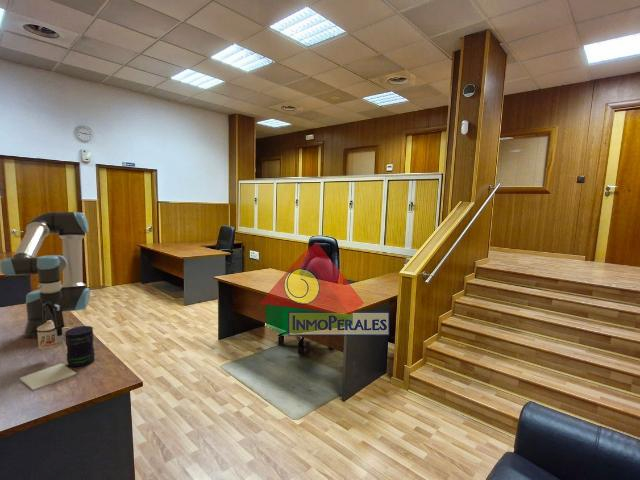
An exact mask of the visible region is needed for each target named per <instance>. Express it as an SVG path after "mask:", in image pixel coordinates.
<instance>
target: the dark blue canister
mask: <svg viewBox="0 0 640 480" xmlns="http://www.w3.org/2000/svg"><path fill="white" fill-rule="evenodd" d="M94 335H95V334H94V327H93V326H90V325H81V326H76V327H73V328H71V329H66V331H65V336H66V338H65V345H66V349H67V350H66V351H67V353H66V362H67V367H68V368H69V369H80V368H84V367H88V366H89V365H91V364H93V363H94V362H95V359H96V358H95V356H96V355H95V354H96V353H95V347H94V339H95V338H94Z"/></svg>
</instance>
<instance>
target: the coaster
mask: <svg viewBox="0 0 640 480" xmlns="http://www.w3.org/2000/svg"><path fill="white" fill-rule="evenodd" d="M76 375H77V372H76V371H75V370H73V369H72V368H69V367H68V366H66V365H64V364H63V363H59V364H56V365H53V366H50V367H46V368H45V369H42V370H39V371H35V372H33V373H30V374H26V375H24V376H21V377H19V380H20V381H21V382H23V384H25V385H26V386H27V387H28V388H30V389H31V390H32V391H36V390H39V389H41V388H44V387H47V386H50V385H53V384H55V383H57V382H61V381H63V380H65V379H69V378H70V377H74V376H76Z"/></svg>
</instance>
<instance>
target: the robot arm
mask: <svg viewBox="0 0 640 480" xmlns="http://www.w3.org/2000/svg"><path fill="white" fill-rule="evenodd" d="M25 231H26V232H25V233H24V235H23V238H22V239H21V241H20V243H19V245H18V247H17V249H16V251H15V253H14V254H13V256H12V257H9V258H3V259H2V260H1V262H0V272H1V274H2V275H3V276H23V275H25V276H27V275H37V277H38V278H37V279H38V280H37V281H38V285H37V288H39V289H35V290H32V291H30V292H28V293H27V294H26V295H25V306H26V318H27V322H26V324H25V325H26V326H25V328H24V331H23V334H24V335H23V336H24V338H27V339H38V334H37V331H36V330H37V328H38V327H39V326H41V325H43V324H45V323H46V322H47V321H48V320H52V322H54V326H55V328H54V329H53V330H54V335H55V343H59V342H63V341H64V339H63V337H64V332H62V328H64V327H66V326H65V322H64V315H63V313H65V312H74V311H81V310H82V311H83V310H85V309H87V307H88V305H89V302H90V296H91V294H90V293H91V292H90V291H91V289H90V288H89V287H87V284H86V283H84V282H83V239H84V238H85V237H86V234H88V233H89V231H90V229H89V223H88V219H87V216H86V214H85V213H83V212H77V211H49V212H45V213H44V212H43V213H41V214H39V215H37V216H35V217H34V218H32V219H31V220H30V221H29V222H28V223H27V225H26V226H25ZM50 234H58V237H59V238H60V239H61V241H62V255H60V254H54V255H53V254H52V255H41V256H37V254H38V253H39V250H40V248H41V246H42V245H43V242H44V240H45V238H46V237H49V235H50ZM61 272H62V279H61Z"/></svg>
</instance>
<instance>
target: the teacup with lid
mask: <svg viewBox="0 0 640 480" xmlns="http://www.w3.org/2000/svg"><path fill="white" fill-rule="evenodd" d="M54 328H55V326H54V322H52V320H48V321H47V322H46V323H45V324H43V325H41V326H39V327H38V328H37V330H36V331H37V334H38V338H37V341H38V343H37V344H38V349H39V350H42V351H47V350H53V349H57V348H58V347H61V346H63V345H64V343H65V342H64V339H66V335H63V342H59V343H55V335H54V330H53V329H54ZM69 329H72V328H71V327H69V326H65V327H63V328H62V332H63V331H64V330H69ZM63 333H64V332H63Z"/></svg>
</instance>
